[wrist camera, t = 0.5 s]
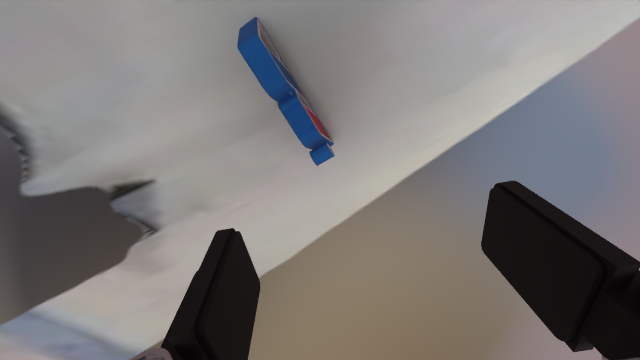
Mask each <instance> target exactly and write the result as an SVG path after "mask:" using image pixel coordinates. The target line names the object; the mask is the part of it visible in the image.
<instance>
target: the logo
mask: <svg viewBox="0 0 640 360" xmlns="http://www.w3.org/2000/svg"><path fill="white" fill-rule="evenodd" d="M238 49H239V51H240V53H241V54H242V56H243V57H244V59H245V60H246V62H247V64H248V65H249V67H250V68H251V70H252V71H253V73H254V74H255V76H256V77H257V79H258V81H259V82H260V84H261V85H262V87H263V88H264V90H265V91H266V92H267V93H268V95H269V96H270V97H271V98H273V99H274V100H276V101H277V102H278V105H279V108H280V110H281V112H282V114H283V115H284V117H285V118H286V120H287V121H288V123H289V124H290V126H291V127H292V129H293V131H294V132H295V134H296V135H297V137H298V138H299V140H300V141H301V143H302V144H303V145H304V146H305V147H306V148H309V149H312V151H310V156H311V158H312V160H313V161H314V163H315V164H316V165H317V166H318V165H320V164H321V163H323V162H325V161H327V160H328V159H330V158H332V157H334V153H333V151H332V149H331V148H330V146H332V145H333V144H334V143H333V141H332V140H331V138H330V136H329V135H328V133H327V131H326V130H325V128H324V126H323V125H322V123H321V121H320V120H319V118H318V117H317V115H316V114H315V113H314V112H313V111H312V109H311V107H310V105H309V103H308V101H307V99H306V98H305V96H304V94H303V93H302V91H301V89H300V88H299V86H298V84H297V83H296V81H295V79H294V78H293V76H292V75H291V73H290V72H289V70H288V69H287V68H286V66H285V65H284V64H283V63H282V62H281V58H280V55H279V54H278V52H277V50H276V49H275V47H274V45H273V44H272V42H271V40H270V39H269V37H268V35H267V34H266V32H265V30H264V29H263V27H262V25H261V24H260V22H259V21H258V19H257V18H256V17H255V18H254V19H252V20H251V21H250V22H248V23H247V24H246V25H244V26H243V27H242V28H240V31H239V38H238Z"/></svg>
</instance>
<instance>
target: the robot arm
mask: <svg viewBox="0 0 640 360" xmlns="http://www.w3.org/2000/svg"><path fill="white" fill-rule="evenodd" d="M481 246H482V250H483V252H484V253H485V255H486V256H487V257H488V258H489V260H490V261H491V262H492V263H493V264H494V265H495V267H496V268H497V269H498V270H499V271H500V272H501V273H502V275H503V276H504V277H505V278H506V279H507V281H508V282H509V283H510V284H511V285H512V286H513V287H514V289H515V290H516V291H517V292H518V293H519V295H520V296H521V297H522V298H523V299H524V300H525V302H526V303H527V304H528V305H529V306H530V308H531V309H532V310H533V311H534V312H535V313H536V315H537V316H538V317H539V318H540V319H541V320H542V322H543V323H544V324H545V325H546V326H547V328H548V329H549V330H550V331H551V332H552V333H553V334H554V336H555V337H556V338H558V339H559V340H561V341H564V342H565V343H566V344H567V345H568V346H569V348H571V350H572V351H573V352H578V351H584V350H592V349H593V347H595V348H596V349H597V350H598V351H599V352H600V353H601V354H602V360H640V271H639V270H638V269H639V268H640V262H639V261H638V260H636V259H635V258H633V257H631V256H630V255H629V254H627V253H625V252H624V251H622V250H621V249H619V248H618V247H616V246H615V245H613V244H612V243H610V242H609V241H607V240H606V239H604V238H603V237H601V236H600V235H598V234H596V233H595V232H593V231H592V230H590V229H589V228H587V227H586V226H584V225H583V224H581V223H580V222H578V221H577V220H575V219H574V218H572V217H571V216H569V215H567V214H566V213H564V212H563V211H561V210H560V209H558V208H557V207H555V206H554V205H552V204H551V203H549V202H548V201H546V200H545V199H543V198H541V197H540V196H538V195H537V194H535V193H534V192H532V191H531V190H529V189H528V188H526V187H525V186H523V185H522V184H520V183H519V182H517V181H508V182H502V183H497V184H495V186H494V188H493V189H491V190H490V194H489V200H488V206H487V212H486V218H485V224H484V230H483V236H482V242H481ZM259 293H260V281H259V278H258V276H257V273H256V271H255V268H254V266H253V263H252V261H251V258H250V256H249V253H248V251H247V248H246V246H245V243H244V241H243V238H242V235H241V233H240V232H239V231H235V230H234V229H233V228H231V229H225V230H219V231H217V232H216V233H215V236H214V238H213V240H212V242H211V244H210V246H209V249H208V251H207V253H206V255H205V257H204V259H203V262H202V264H201V266H200V268H199V270H198V271H197V272H196V273H195V275H194V277H193V279H192V281H191V283H190V285H189V288H188V290H187V292H186V294H185V296H184V298H183V300H182V303H181V305H180V307H179V309H178V311H177V313H176V315H175V317H174V320H173V322H172V324H171V326H170V328H169V330H168V332H167V335H166V337H165V339H164V341H163V343H162V345H161V347H160V348H152V349H149V350H146V351H144V352H142V353H140V354H139V355H137V356H135V357H134V358H133V359H132V360H248V355H249V349H250V343H251V338H252V332H253V326H254V321H255V315H256V310H257V304H258V298H259Z"/></svg>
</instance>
